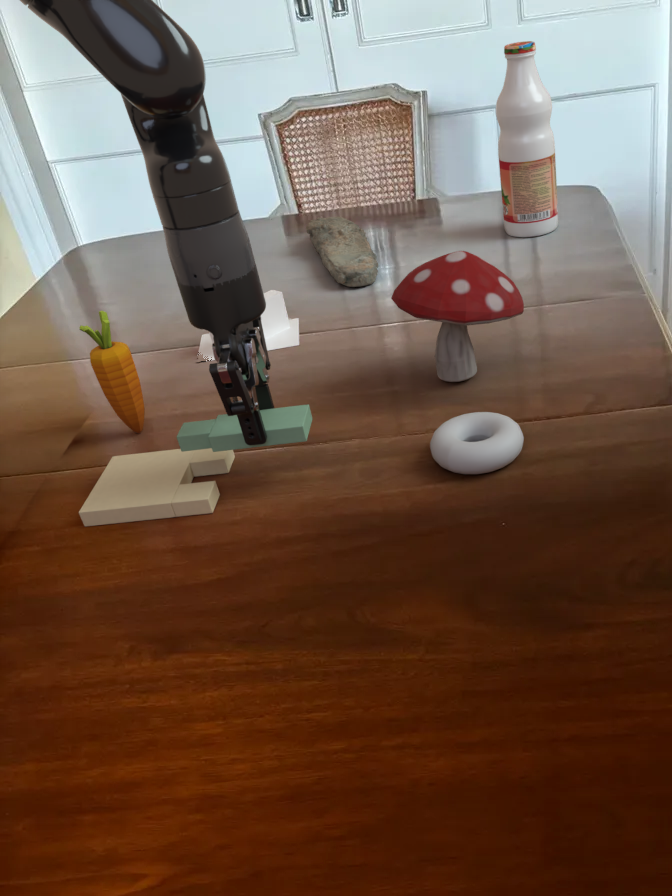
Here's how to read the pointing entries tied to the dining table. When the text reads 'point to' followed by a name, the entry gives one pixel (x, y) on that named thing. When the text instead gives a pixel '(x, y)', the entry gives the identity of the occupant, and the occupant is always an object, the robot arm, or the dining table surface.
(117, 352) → the carrot
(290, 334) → the napkin holder
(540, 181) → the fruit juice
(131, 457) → the sand pad
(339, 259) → the elongated rock
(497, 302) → the decorative mushroom
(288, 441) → the green tabbed block
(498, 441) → the donut
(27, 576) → the dining table surface
